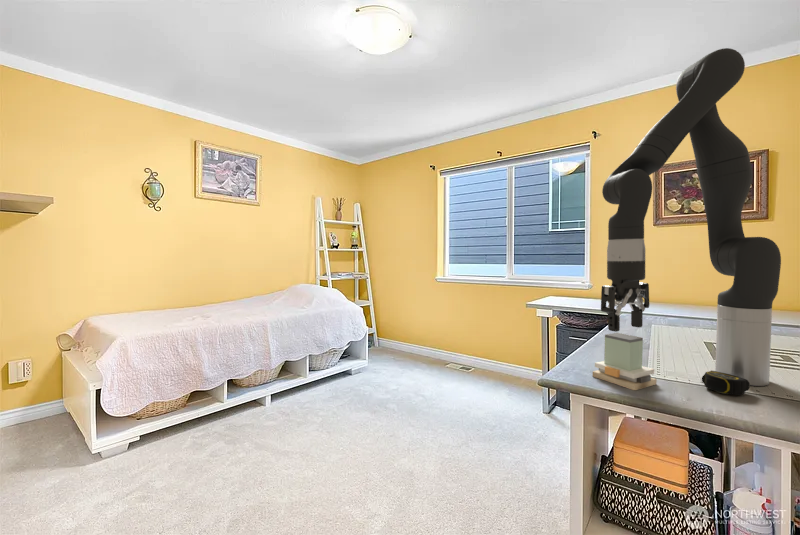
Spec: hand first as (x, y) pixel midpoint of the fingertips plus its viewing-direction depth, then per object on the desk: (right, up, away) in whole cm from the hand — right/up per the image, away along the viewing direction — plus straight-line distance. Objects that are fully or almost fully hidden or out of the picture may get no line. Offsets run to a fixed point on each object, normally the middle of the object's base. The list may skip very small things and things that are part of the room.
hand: (625, 328), depth 84 cm
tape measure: (+17, -13, -6) cm, 22 cm away
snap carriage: (-1, -11, 0) cm, 11 cm away
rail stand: (0, -12, +1) cm, 12 cm away
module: (0, -9, +1) cm, 9 cm away
